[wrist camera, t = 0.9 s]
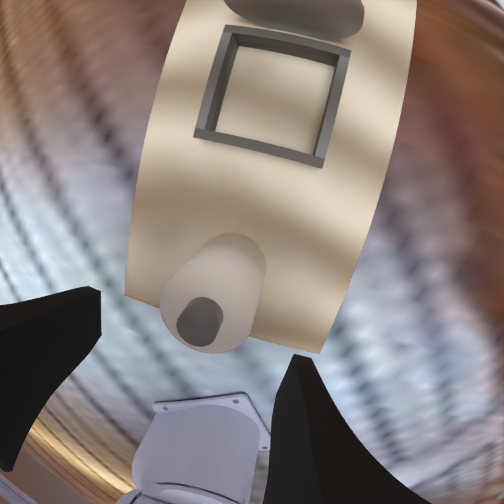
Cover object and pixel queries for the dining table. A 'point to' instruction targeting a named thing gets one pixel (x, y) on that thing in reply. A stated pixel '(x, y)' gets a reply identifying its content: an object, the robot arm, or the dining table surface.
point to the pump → (215, 294)
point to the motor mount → (272, 148)
